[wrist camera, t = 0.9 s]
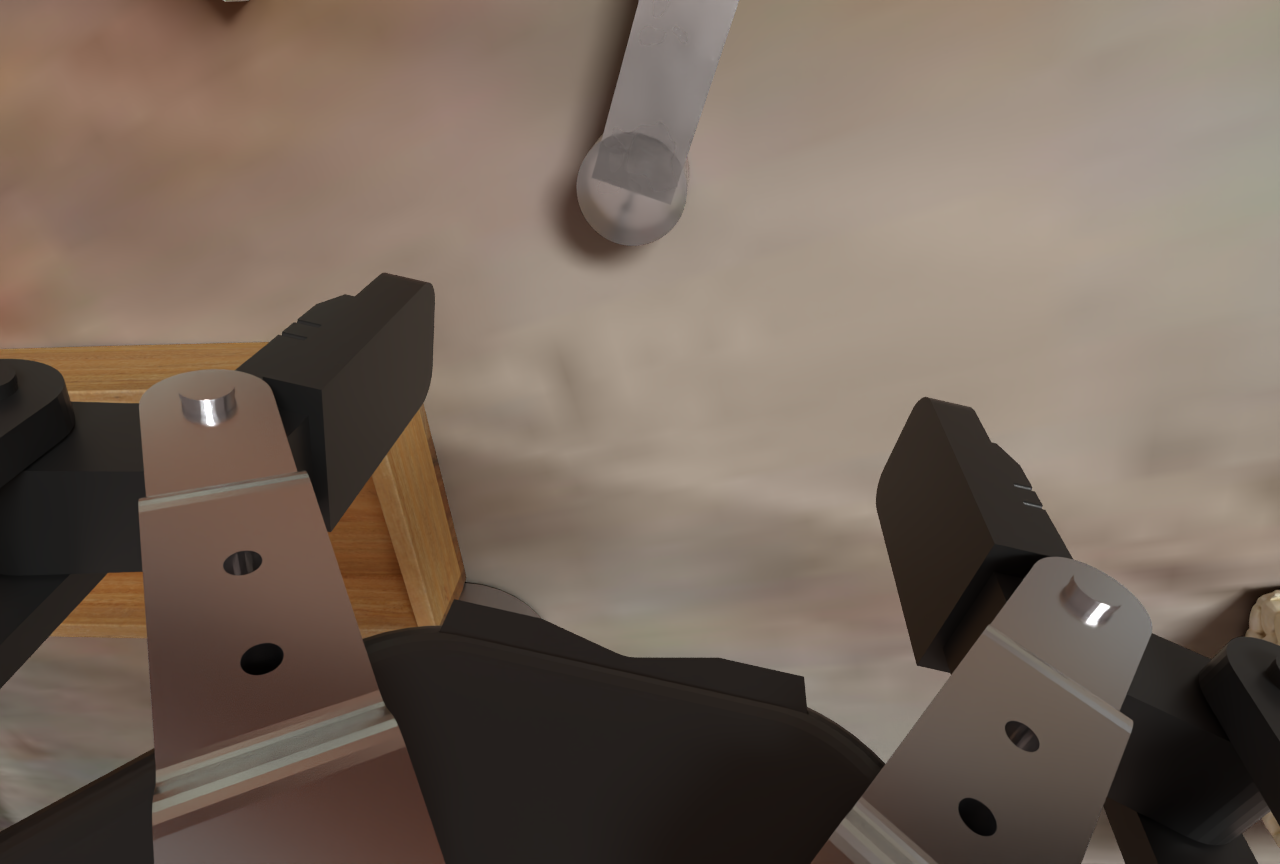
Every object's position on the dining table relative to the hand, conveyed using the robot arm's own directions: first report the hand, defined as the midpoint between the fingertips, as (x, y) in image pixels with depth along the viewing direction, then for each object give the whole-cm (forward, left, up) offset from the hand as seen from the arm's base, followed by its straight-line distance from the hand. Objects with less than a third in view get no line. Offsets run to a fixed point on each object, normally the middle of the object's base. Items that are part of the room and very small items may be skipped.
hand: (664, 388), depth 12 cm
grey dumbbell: (+2, +3, -19) cm, 19 cm away
